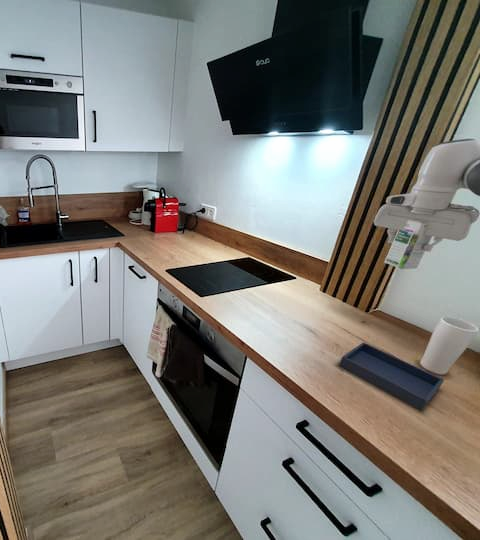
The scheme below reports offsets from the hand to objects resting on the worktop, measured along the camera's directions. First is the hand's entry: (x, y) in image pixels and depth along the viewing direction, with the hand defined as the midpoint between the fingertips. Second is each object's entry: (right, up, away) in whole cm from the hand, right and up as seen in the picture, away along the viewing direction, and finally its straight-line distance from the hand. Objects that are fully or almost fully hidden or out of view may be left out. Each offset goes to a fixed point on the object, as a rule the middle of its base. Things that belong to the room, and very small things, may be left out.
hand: (408, 246), depth 87 cm
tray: (-17, -36, -11) cm, 41 cm away
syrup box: (0, -6, +3) cm, 7 cm away
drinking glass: (-1, -35, -8) cm, 36 cm away
